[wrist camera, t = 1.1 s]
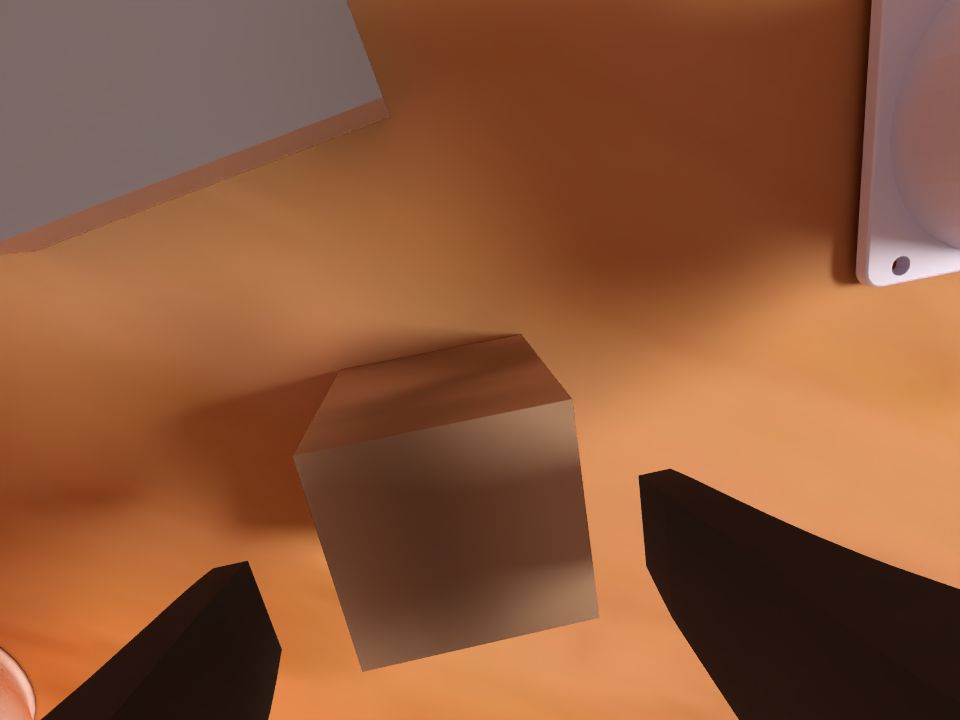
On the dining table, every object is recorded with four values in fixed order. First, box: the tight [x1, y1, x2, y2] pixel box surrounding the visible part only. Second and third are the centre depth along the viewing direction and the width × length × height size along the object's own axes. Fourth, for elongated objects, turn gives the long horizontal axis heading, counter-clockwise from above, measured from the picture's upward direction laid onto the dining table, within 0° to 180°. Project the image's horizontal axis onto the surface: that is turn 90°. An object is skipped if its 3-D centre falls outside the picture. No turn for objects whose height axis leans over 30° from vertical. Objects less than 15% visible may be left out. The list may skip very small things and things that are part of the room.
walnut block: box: [293, 334, 599, 672], centre depth 12 cm, size 5×5×5 cm
